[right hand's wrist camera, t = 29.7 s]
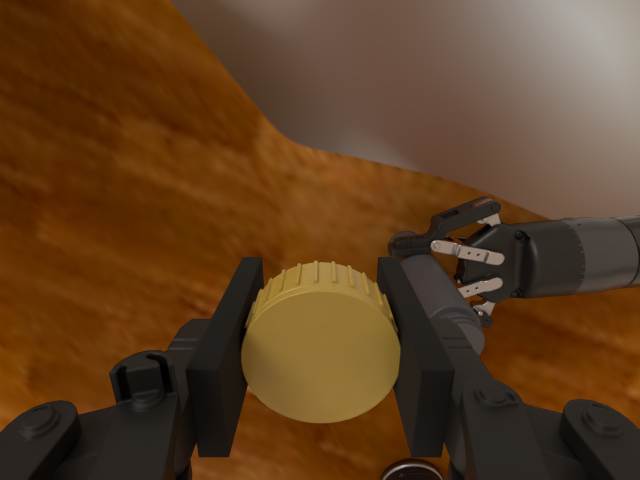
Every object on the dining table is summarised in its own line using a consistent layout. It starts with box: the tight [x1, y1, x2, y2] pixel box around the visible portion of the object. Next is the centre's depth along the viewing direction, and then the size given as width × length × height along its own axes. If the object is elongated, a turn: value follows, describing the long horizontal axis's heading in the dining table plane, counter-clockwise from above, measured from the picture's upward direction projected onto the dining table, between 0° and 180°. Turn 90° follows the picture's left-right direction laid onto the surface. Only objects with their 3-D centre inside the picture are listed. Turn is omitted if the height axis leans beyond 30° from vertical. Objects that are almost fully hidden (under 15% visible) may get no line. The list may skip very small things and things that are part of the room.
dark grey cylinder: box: [388, 231, 485, 356], centre depth 33 cm, size 4×4×19 cm
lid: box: [241, 261, 401, 423], centre depth 11 cm, size 5×5×2 cm
